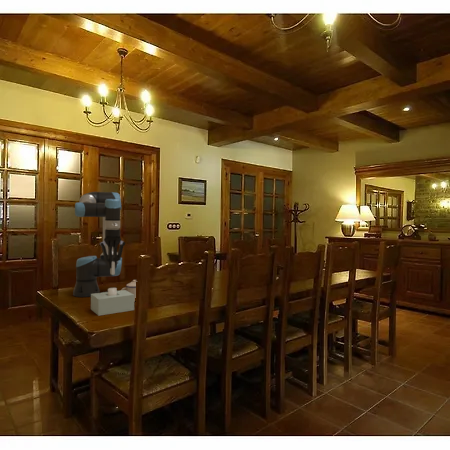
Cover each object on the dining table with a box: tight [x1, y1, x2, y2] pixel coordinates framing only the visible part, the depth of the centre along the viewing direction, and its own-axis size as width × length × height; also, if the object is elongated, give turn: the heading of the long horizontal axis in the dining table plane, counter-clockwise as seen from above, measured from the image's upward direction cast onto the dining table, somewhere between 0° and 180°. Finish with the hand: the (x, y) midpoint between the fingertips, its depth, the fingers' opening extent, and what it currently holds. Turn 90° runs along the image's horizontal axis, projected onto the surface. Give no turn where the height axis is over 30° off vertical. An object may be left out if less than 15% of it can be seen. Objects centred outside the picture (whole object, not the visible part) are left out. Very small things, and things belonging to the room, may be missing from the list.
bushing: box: [107, 287, 118, 296], centre depth 176 cm, size 4×4×11 cm
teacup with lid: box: [121, 279, 137, 303], centre depth 197 cm, size 12×9×12 cm
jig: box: [90, 289, 135, 317], centre depth 176 cm, size 14×18×8 cm
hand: (112, 274), depth 176 cm, fingers closed
